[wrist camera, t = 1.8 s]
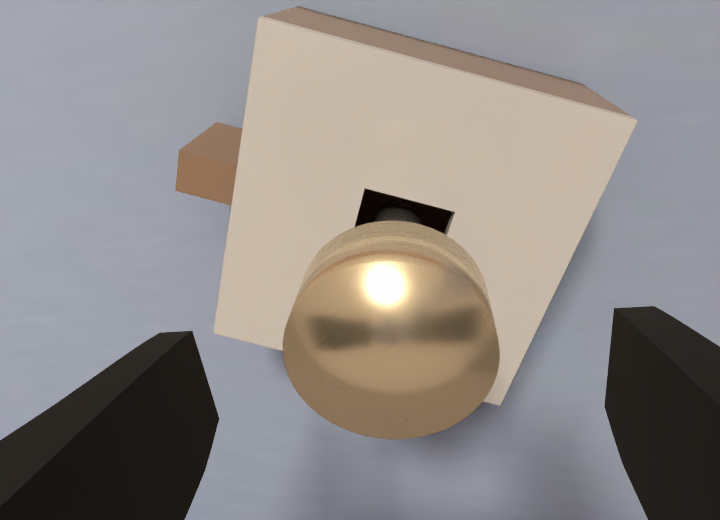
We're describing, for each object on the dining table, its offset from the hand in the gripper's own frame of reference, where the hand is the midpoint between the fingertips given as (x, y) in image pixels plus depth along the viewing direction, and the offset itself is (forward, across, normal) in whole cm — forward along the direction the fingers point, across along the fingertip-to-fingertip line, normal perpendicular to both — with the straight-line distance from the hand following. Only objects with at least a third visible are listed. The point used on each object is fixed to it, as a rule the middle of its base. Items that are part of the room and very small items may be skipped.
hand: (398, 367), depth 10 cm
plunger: (+7, 0, 0) cm, 7 cm away
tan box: (+10, 0, 0) cm, 10 cm away
